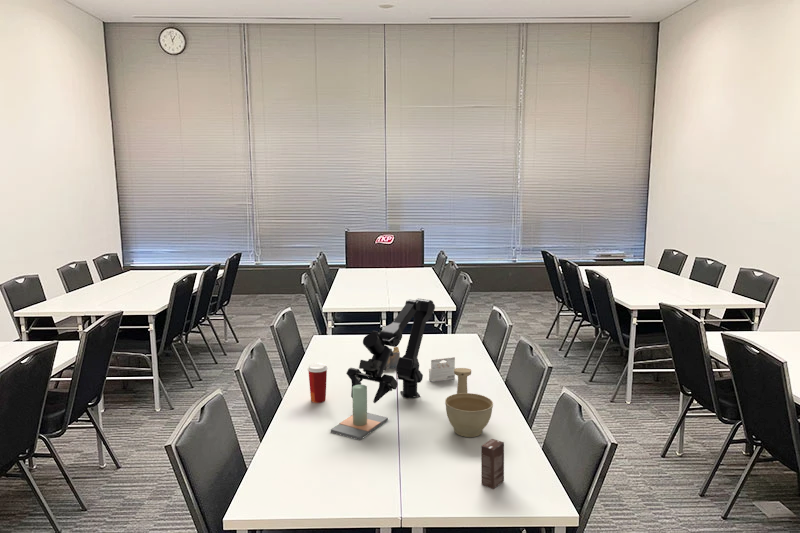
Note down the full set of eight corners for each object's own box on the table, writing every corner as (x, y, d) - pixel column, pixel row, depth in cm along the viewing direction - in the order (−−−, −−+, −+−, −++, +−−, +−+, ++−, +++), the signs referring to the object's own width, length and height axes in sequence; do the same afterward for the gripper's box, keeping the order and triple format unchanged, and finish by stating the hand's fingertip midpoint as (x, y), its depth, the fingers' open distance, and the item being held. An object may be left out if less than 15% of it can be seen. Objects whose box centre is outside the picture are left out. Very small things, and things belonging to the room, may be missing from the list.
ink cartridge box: (428, 380, 251) (428, 358, 250) (452, 377, 255) (453, 355, 253) (430, 382, 249) (431, 359, 247) (455, 379, 252) (455, 357, 251)
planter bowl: (488, 445, 192) (489, 413, 190) (440, 438, 197) (440, 407, 195) (495, 424, 207) (496, 395, 206) (450, 419, 212) (450, 390, 210)
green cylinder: (354, 419, 209) (353, 384, 207) (368, 419, 208) (367, 384, 206) (351, 425, 204) (351, 389, 202) (366, 426, 204) (365, 390, 201)
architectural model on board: (398, 366, 269) (398, 346, 268) (399, 368, 266) (399, 348, 265) (374, 367, 268) (373, 347, 266) (374, 369, 265) (374, 349, 263)
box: (490, 476, 173) (491, 437, 171) (504, 481, 170) (505, 442, 168) (479, 484, 168) (480, 445, 166) (493, 490, 166) (494, 450, 164)
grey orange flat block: (359, 413, 217) (359, 410, 217) (387, 420, 211) (387, 417, 211) (330, 432, 202) (330, 428, 201) (360, 440, 196) (360, 436, 196)
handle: (470, 411, 219) (471, 372, 216) (453, 410, 220) (453, 371, 217) (470, 406, 224) (471, 368, 221) (453, 405, 224) (454, 367, 222)
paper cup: (331, 397, 231) (330, 363, 229) (322, 405, 224) (322, 370, 222) (313, 395, 234) (312, 361, 232) (304, 402, 227) (303, 367, 224)
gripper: (348, 346, 213) (331, 385, 205) (393, 354, 204) (376, 395, 196) (361, 360, 221) (344, 398, 213) (404, 369, 212) (389, 409, 204)
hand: (363, 400), depth 207 cm, fingers open, 9 cm apart
